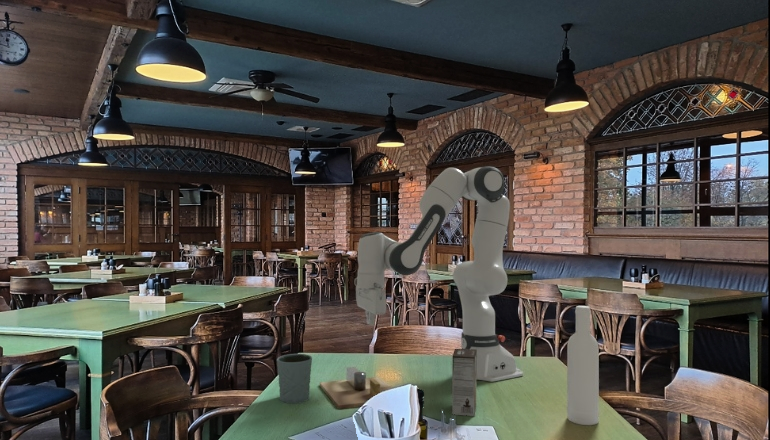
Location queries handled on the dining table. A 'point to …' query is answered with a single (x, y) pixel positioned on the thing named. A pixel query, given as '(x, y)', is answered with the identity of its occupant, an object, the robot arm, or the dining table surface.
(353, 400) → the plate
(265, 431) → the dining table surface
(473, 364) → the coffee box
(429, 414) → the dining table surface
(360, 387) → the swing bar
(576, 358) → the bottle
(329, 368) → the dining table surface
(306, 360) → the grey cup
